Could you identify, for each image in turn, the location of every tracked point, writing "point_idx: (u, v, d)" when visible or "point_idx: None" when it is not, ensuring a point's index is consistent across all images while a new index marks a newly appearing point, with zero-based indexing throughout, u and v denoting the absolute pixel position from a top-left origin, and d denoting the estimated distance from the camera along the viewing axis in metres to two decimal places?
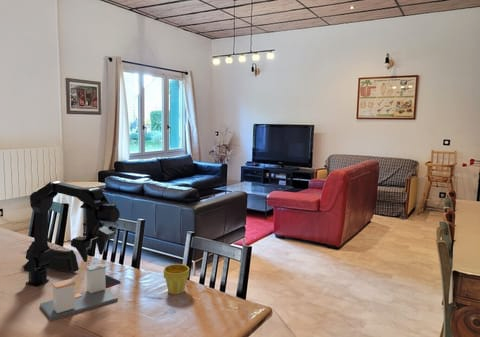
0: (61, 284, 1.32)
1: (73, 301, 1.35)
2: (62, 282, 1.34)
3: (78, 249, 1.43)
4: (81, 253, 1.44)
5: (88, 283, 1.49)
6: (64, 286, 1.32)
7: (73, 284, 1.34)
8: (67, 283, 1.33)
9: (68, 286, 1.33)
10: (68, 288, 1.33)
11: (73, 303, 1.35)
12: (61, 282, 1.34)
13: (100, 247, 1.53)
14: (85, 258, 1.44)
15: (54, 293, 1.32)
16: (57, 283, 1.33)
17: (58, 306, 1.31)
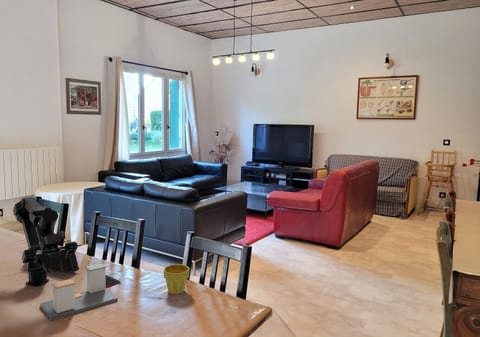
0: (61, 284, 1.32)
1: (73, 301, 1.35)
2: (62, 282, 1.34)
3: (39, 263, 1.40)
4: (42, 266, 1.39)
5: (88, 283, 1.49)
6: (64, 286, 1.32)
7: (73, 284, 1.34)
8: (67, 283, 1.33)
9: (68, 286, 1.33)
10: (68, 288, 1.33)
11: (73, 303, 1.35)
12: (61, 282, 1.34)
13: (60, 263, 1.43)
14: (46, 269, 1.38)
15: (54, 293, 1.32)
16: (57, 283, 1.33)
17: (58, 306, 1.31)
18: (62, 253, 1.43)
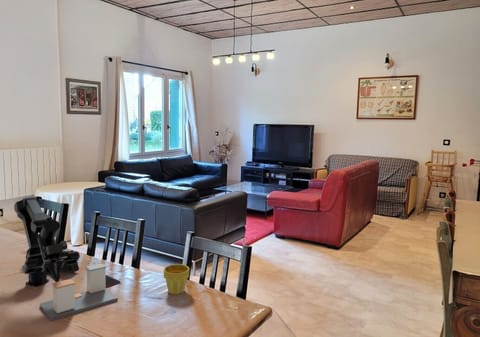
0: (61, 284, 1.32)
1: (73, 301, 1.35)
2: (62, 282, 1.34)
3: (47, 273, 1.40)
4: (51, 275, 1.40)
5: (88, 283, 1.49)
6: (64, 286, 1.32)
7: (73, 284, 1.34)
8: (67, 283, 1.33)
9: (68, 286, 1.33)
10: (68, 288, 1.33)
11: (73, 303, 1.35)
12: (61, 282, 1.34)
13: (56, 274, 1.40)
14: (54, 278, 1.38)
15: (54, 293, 1.32)
16: (57, 283, 1.33)
17: (58, 306, 1.31)
18: (58, 264, 1.41)
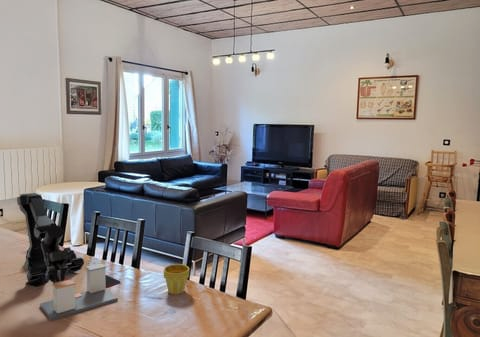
0: (61, 284, 1.32)
1: (73, 301, 1.34)
2: (62, 282, 1.34)
3: (51, 280, 1.37)
4: (54, 282, 1.37)
5: (88, 283, 1.49)
6: (65, 286, 1.32)
7: (73, 284, 1.34)
8: (67, 283, 1.33)
9: (68, 286, 1.33)
10: (68, 288, 1.33)
11: (73, 303, 1.35)
12: (61, 282, 1.34)
13: None
14: None
15: (54, 293, 1.32)
16: (57, 283, 1.33)
17: (58, 306, 1.31)
18: (62, 271, 1.37)
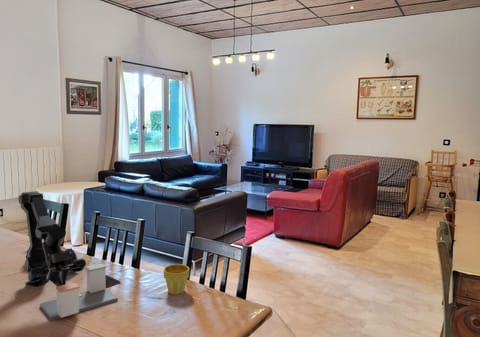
0: (65, 288, 1.29)
1: (77, 305, 1.32)
2: (66, 286, 1.31)
3: (53, 281, 1.36)
4: (56, 284, 1.35)
5: (88, 283, 1.49)
6: (68, 290, 1.29)
7: (77, 288, 1.31)
8: (71, 287, 1.30)
9: (72, 290, 1.30)
10: (72, 291, 1.30)
11: (77, 307, 1.32)
12: (65, 286, 1.31)
13: (62, 283, 1.36)
14: None
15: (58, 297, 1.29)
16: (61, 287, 1.30)
17: (62, 310, 1.28)
18: (63, 273, 1.36)
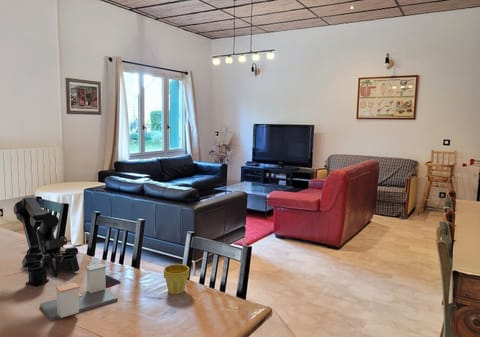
0: (65, 288, 1.29)
1: (77, 305, 1.32)
2: (66, 286, 1.31)
3: (46, 267, 1.41)
4: (49, 270, 1.41)
5: (88, 283, 1.49)
6: (68, 290, 1.29)
7: (77, 288, 1.31)
8: (71, 287, 1.30)
9: (72, 290, 1.30)
10: (72, 291, 1.30)
11: (77, 307, 1.32)
12: (65, 286, 1.31)
13: (54, 269, 1.41)
14: (53, 273, 1.39)
15: (58, 297, 1.29)
16: (61, 287, 1.30)
17: (62, 310, 1.28)
18: (56, 259, 1.42)
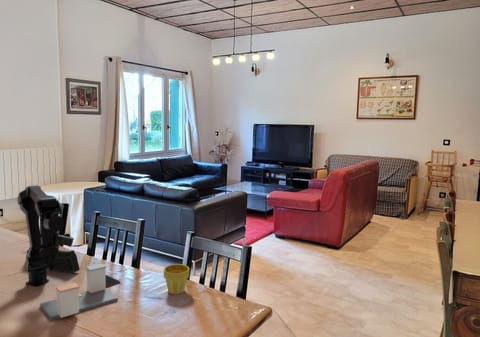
0: (65, 288, 1.29)
1: (77, 305, 1.32)
2: (66, 286, 1.31)
3: (45, 258, 1.41)
4: (48, 262, 1.42)
5: (88, 283, 1.49)
6: (68, 290, 1.29)
7: (77, 288, 1.31)
8: (71, 287, 1.30)
9: (72, 290, 1.30)
10: (72, 291, 1.30)
11: (77, 307, 1.32)
12: (65, 286, 1.31)
13: None
14: (52, 266, 1.43)
15: (58, 297, 1.29)
16: (61, 287, 1.30)
17: (62, 310, 1.28)
18: None
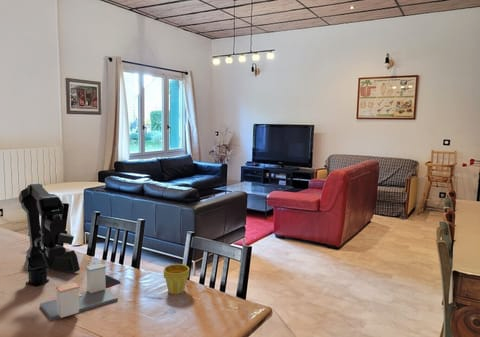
0: (65, 288, 1.29)
1: (77, 305, 1.32)
2: (66, 286, 1.31)
3: (46, 256, 1.42)
4: (48, 260, 1.43)
5: (88, 283, 1.49)
6: (68, 290, 1.29)
7: (77, 288, 1.31)
8: (71, 287, 1.30)
9: (72, 290, 1.30)
10: (72, 291, 1.30)
11: (77, 307, 1.32)
12: (65, 286, 1.31)
13: None
14: (52, 264, 1.44)
15: (58, 297, 1.29)
16: (61, 287, 1.30)
17: (62, 310, 1.28)
18: None
